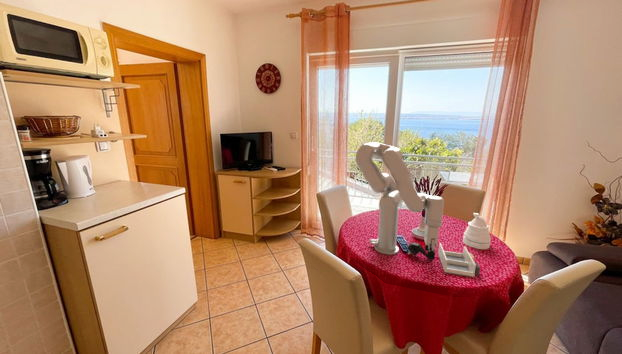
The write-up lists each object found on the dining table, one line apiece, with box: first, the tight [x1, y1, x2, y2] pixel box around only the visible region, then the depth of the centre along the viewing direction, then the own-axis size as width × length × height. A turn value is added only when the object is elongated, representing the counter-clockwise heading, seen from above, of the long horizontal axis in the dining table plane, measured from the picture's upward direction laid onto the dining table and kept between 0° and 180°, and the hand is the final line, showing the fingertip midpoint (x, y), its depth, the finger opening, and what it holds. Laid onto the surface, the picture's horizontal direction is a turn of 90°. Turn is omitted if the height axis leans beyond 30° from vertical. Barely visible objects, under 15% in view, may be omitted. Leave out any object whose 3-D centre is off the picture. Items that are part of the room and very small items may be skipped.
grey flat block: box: [474, 261, 481, 277], centre depth 114 cm, size 1×5×4 cm, turn 162°
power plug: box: [407, 242, 433, 262], centre depth 127 cm, size 6×8×12 cm
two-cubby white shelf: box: [437, 242, 476, 278], centre depth 120 cm, size 12×18×6 cm, turn 162°
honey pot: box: [462, 212, 492, 250], centre depth 139 cm, size 13×13×18 cm
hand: (429, 254), depth 123 cm, fingers open, 7 cm apart
